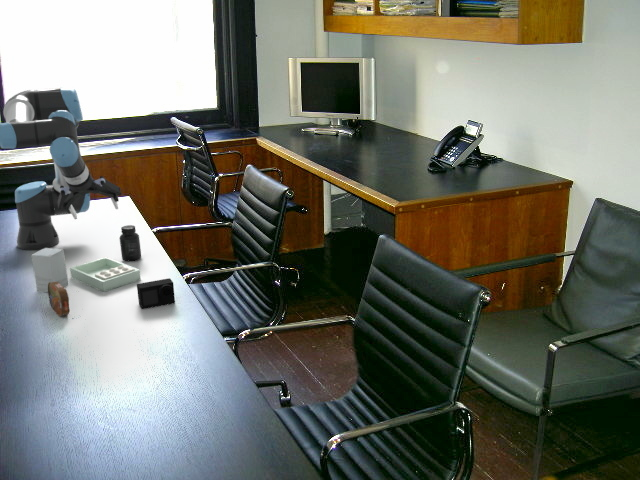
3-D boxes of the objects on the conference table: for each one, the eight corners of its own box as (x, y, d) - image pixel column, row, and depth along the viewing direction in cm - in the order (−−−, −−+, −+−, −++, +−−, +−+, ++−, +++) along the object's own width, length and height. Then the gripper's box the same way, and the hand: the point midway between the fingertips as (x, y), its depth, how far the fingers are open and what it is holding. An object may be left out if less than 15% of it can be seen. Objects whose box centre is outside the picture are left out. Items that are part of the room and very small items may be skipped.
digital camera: (142, 311, 237) (140, 289, 235) (138, 304, 242) (136, 283, 240) (176, 304, 241) (174, 283, 239) (171, 298, 246) (169, 277, 244)
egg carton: (96, 283, 258) (94, 271, 256) (124, 274, 265) (123, 262, 264) (106, 288, 254) (104, 275, 253) (134, 278, 261) (133, 266, 260)
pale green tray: (71, 277, 265) (70, 267, 264) (107, 266, 275) (106, 257, 274) (103, 292, 252) (102, 281, 251) (140, 279, 262) (139, 269, 261)
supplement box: (69, 285, 259) (64, 249, 255) (55, 293, 252) (49, 256, 248) (50, 283, 261) (45, 247, 257) (36, 291, 255) (30, 254, 251)
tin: (48, 304, 244) (44, 279, 241) (58, 302, 246) (55, 276, 243) (62, 320, 232) (58, 294, 229) (72, 318, 234) (69, 291, 231)
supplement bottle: (144, 255, 285) (140, 224, 281) (138, 262, 278) (134, 230, 275) (125, 255, 286) (122, 224, 282) (119, 262, 279) (115, 229, 275)
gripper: (37, 195, 237) (59, 229, 256) (119, 175, 240) (135, 211, 259) (34, 175, 241) (56, 210, 260) (115, 156, 244) (131, 192, 262)
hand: (96, 210), depth 259 cm, fingers open, 13 cm apart
